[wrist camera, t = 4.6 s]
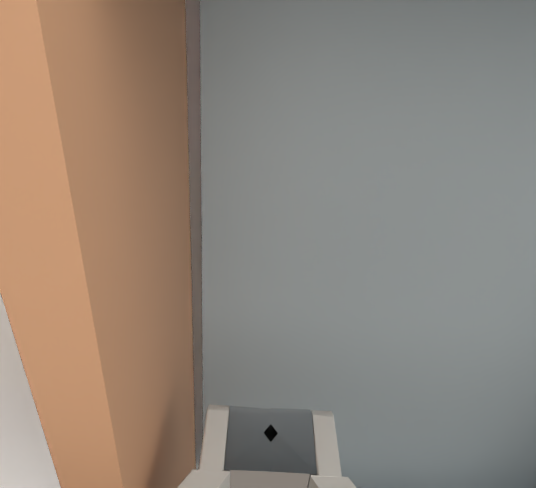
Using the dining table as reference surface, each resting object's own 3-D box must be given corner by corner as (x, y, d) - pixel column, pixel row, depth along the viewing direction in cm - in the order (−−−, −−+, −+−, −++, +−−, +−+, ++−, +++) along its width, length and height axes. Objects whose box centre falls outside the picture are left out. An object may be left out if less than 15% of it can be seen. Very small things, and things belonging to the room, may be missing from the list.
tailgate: (183, -55, 9) (24, -61, 3) (195, 476, 20) (161, 704, 14) (114, -61, 9) (-169, -78, 3) (162, 474, 19) (114, 702, 14)
